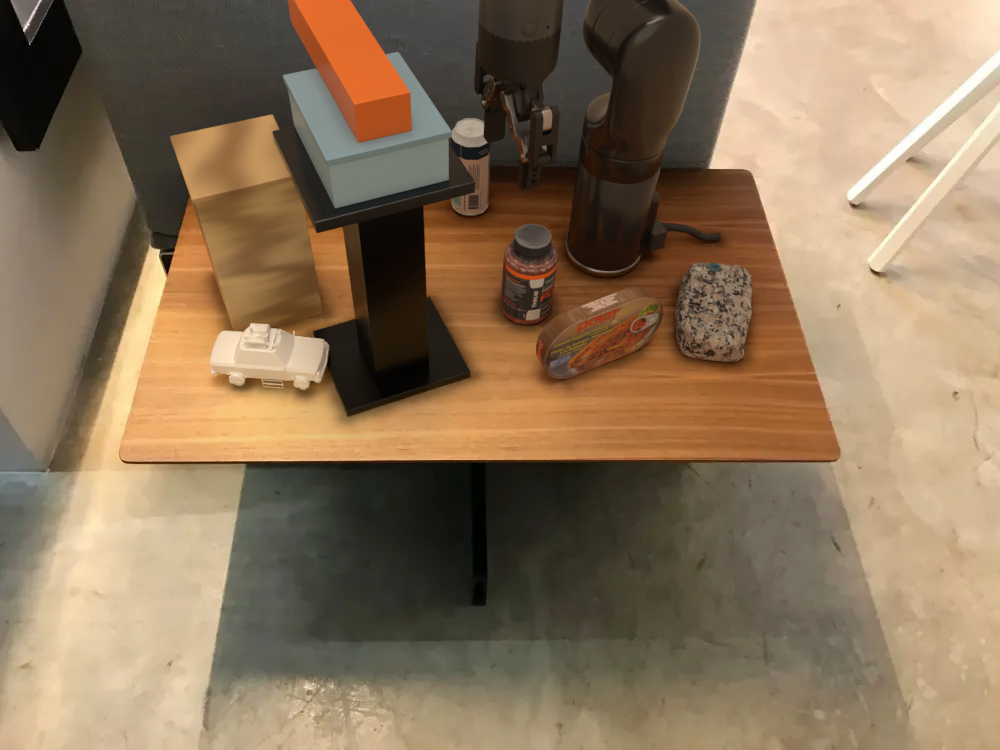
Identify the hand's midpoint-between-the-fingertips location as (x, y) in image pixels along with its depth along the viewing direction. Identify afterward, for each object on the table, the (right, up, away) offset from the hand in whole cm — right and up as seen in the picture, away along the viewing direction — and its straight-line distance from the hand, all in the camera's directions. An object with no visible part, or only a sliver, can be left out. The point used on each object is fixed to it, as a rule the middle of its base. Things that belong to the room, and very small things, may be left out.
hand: (510, 162), depth 89 cm
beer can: (-5, 0, +22) cm, 22 cm away
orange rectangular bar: (-14, +3, -16) cm, 22 cm away
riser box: (-28, -13, +10) cm, 33 cm away
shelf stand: (-13, -20, +5) cm, 25 cm away
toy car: (-26, -22, +4) cm, 34 cm away
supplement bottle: (+2, -15, +11) cm, 18 cm away
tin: (+9, -20, +7) cm, 23 cm away
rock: (+24, -16, +11) cm, 31 cm away
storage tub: (-12, -3, -15) cm, 20 cm away
